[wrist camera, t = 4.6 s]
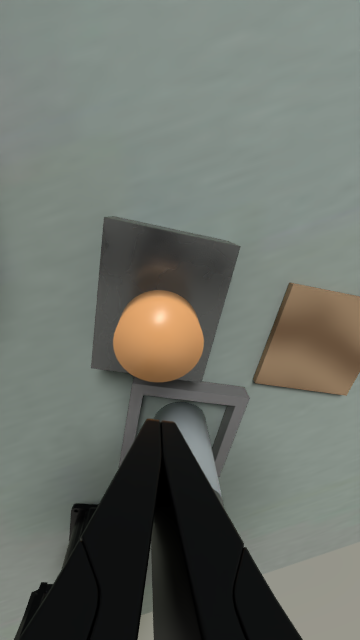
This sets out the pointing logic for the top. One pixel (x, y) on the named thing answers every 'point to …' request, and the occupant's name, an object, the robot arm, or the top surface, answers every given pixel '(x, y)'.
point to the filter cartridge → (194, 437)
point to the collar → (191, 391)
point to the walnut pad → (313, 342)
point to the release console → (159, 280)
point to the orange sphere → (158, 337)
